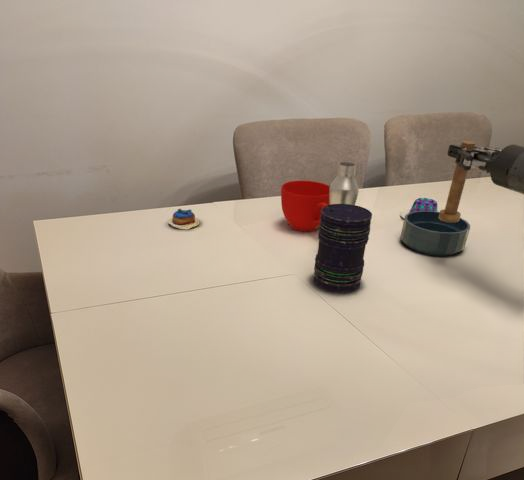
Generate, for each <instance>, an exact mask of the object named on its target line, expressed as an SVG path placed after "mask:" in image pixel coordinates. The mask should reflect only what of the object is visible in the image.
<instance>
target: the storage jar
mask: <svg viewBox="0 0 524 480" xmlns="http://www.w3.org/2000/svg"><path fill="white" fill-rule="evenodd" d="M372 218H373V213H372V212H371V210H369V209H367V208H366V207H363V206H359V205H356V204H355V205H350V204H331V205H327V206H324V207H323V208H322V210H321V219H320V223H319V226H318V232H317V235H318V236H317V238H318V248H317V253H316V255H315V257H314V261H315V262H314V265H313V267H314V268H313V270H314V273H313V275H314V276H313V284H314V285H315V286H316V287H317V288H318V289H320V290H322V291H325V292H327V293H332V294H350V293H351V294H352V293H354V292H357V290H358V289H360V287H361V280H362V277H363V273H364V267H365V259H364V257H365V252H366V251H365V250H366V246H367V244H368V242H369V240H370V233H371V223H372V222H371V221H372Z"/></svg>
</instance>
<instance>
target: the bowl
mask: <svg viewBox="0 0 524 480" xmlns="http://www.w3.org/2000/svg"><path fill="white" fill-rule="evenodd" d="M439 213H440V211H438V210H437V211H414V212H410V213H408V214H406V215H405V218H403V223H402V228H401V233H400V236H399V237H400V239H401V241H402V243H404V244H405V246H406V247H407V248H409V249H411V250H412V251H415V252H417V253H420V254H423V255H428V256H435V257H436V256H437V257H446V256H447V257H448V256H452V255H455V254H457V253H460V252H462V251H463V250H464V249H465V248H466V243H467V240H468V237H469V234H470V231H471V224H470V223H469V222H468V220H465V219H464V218H463V217H460V219H459V221H458V222H455V223H450V222H445V221H442V220H440V219H439V218H438V217H439Z"/></svg>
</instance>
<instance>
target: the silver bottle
mask: <svg viewBox="0 0 524 480" xmlns="http://www.w3.org/2000/svg"><path fill="white" fill-rule="evenodd" d="M337 167H338V168H337V170H336V171H337V176H336V177H335V178H334V179H333V180H332V182H331V183H330V185H329V186H330V188H329V205H331V204H350V205H356V203H357V200H358V196H359V192H360V191H359V189H360V188H359V185H358V182H357V180H356V178H355V175H356V168H357V165H356V164H355V163H354V162H349V161H348V162H347V161H341V162H339V163H338V166H337Z"/></svg>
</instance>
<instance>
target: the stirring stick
mask: <svg viewBox="0 0 524 480" xmlns="http://www.w3.org/2000/svg"><path fill="white" fill-rule="evenodd" d="M460 145H461V147H463V148H467V149H471V150H472V149H474V147H476V142H474V141H471V140H462V141H461V144H460ZM469 154H470V153H469ZM468 172H469V170H464V169H463V168H462V167H460V166H459V165H458V164H456V163H455V167H454V172H453V176H452V180H451V183H450V187H449V191H448V196H447V198H446V203H445V207H444V209H443V208H442V209H440V210H439V212H440V213H439V217H438V218H439V219H440V220H442V221H445V222H450V223H455V222H458V221H459V219H460V218H461V216H462V213H461V212H460V211H458V210H459V206H460V202H461V199H462V195H463V191H464V188H465V184H466V180H467V177H468Z"/></svg>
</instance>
